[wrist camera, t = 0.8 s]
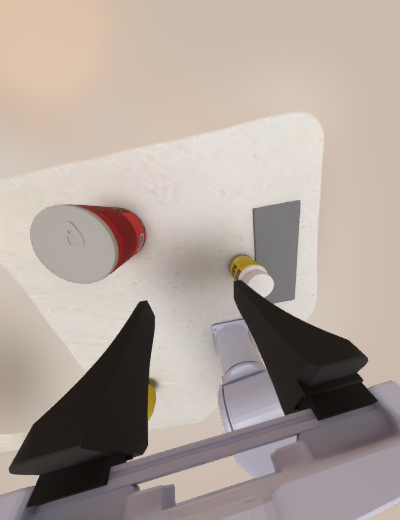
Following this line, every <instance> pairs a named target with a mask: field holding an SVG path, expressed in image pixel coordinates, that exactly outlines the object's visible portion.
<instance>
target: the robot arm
mask: <svg viewBox="0 0 400 520" xmlns="http://www.w3.org/2000/svg"><path fill="white" fill-rule="evenodd" d="M234 300H235V302H236V305H237V307H238V310H239V311H240V313H241V315H242V317H243V319H242V320H236V321H231V322H226V323H221V324H216V325H213V326H212V328H213V333H214V339H215V344H216V350H217V355H218V356H220V358H221V363H222V368H223V373H224V376H222V380H223V385H220V387H219V390H218V404H219V409H220V414H221V418H222V422H223V425H224V428H225V431H226V433H225V434H222V435H218V436H215V437H211V438H208V439H205V440H201V441H198V442H194V443H191V444H187V445H184V446H181V447H177V448H174V449H171V450H167V451H164V452H160V453H157V454H154V455H151V456H147V457H143V458H140V459H137V460H133V461H130V462H126V461H127V460H131V459H133V457H136V456H140V455H143V453H144V452H145V450H146V448H147V446H148V386H149V367H150V358H151V351H152V344H153V337H154V330H155V315H154V313H153V311H152V309H151V307H150V305H149V303H148V301H147V300H146V301H141V302H139V303H138V305H137V306H136V308H135V309H134V311H133V313H132V314H131V316H130V317H129V319H128V320H127V322H126V323H125V325H124V327H123V328H122V329H121V331H120V332H119V334H118V335H117V336H116V338H115V339H114V341H113V342H112V343H111V345H110V346H109V347H108V349H107V350H106V351H105V352H104V353H103V355H102V356H101V357H100V358H99V359H98V361H97V362H96V363H95V364H94V365H93V366H92V367H91V368H90V369H89V371H88V372H87V373H86V374H85V375H84V376H83V377H82V378H81V379H80V380H79V381H78V382H77V383H76V384H75V385H74V386H73V387H72V388H71V389H70V391H68V392H67V394H65V395H64V396H63V397H62V398H61V399H60V400H59V401H58V402H57V403H56V404H55V405H54V406H53V407H52V408H51V409H50V410H48V411H47V412H46V413H45V414H44V415H43V416H42V417H41V418H40V419H39V420H38V421H37V422H35V423H34V424H33V426H32V428H31V429H30V431H29V433H28V435H27V437H26V438H25V440H24V442H23V444H22V446H21V447H20V449H19V451H18V453H17V455H16V457H15V458H14V460H13V462H12V464H11V465H10V467H9V472H10V473H11V474H18V475H40V476H39V479H38V481H37V483H36V485H35V486H32V487H27V488H23V489H19V490H16V491H12V492H9V493H6V494H3V495H0V520H366V519H368V518H370V517H371V516H373V515H375V514H377V513H379V512H381V511H383V510H385V509H387V508H389V507H390V506H392V505H394V504H396V503H398V502H400V386H399V385H398V384H397V383H395V382H394V381H388V382H385V383H381V384H378V385H374V386H371V387H369V388H366V387H365V386H364V385H363V384H362V382H363V379H362V378H361V377H360V375H359V374H358V373H357V372H358V371H359V370H360V369H361V368H362V367H364V366H365V365H366V364H367V362H368V358H367V357H366V356H365V355H364V354H363V353H362V352H361V351H360V350H359V349H358V348H357V347H356V346H354V345H353V344H352V343H351V342H350V341H349V340H347V339H344V338H342V337H339V336H337V335H334V334H332V333H329V332H326V331H324V330H322V329H319V328H317V327H315V326H313V325H311V324H308V323H306V322H304V321H302V320H300V319H298V318H296V317H294V316H292V315H291V314H289V313H287V312H285V311H284V310H282V309H280V308H279V307H277V306H275V305H274V304H272V303H271V302H269V301H268V300H267V299H265V298H264V297H262V296H261V295H260V294H258V293H257V292H256V291H254V290H253V289H252V288H251V287H249V286H248V285H247V284H246V283H245V282H243V281H242V280H236V281H234ZM248 328H249V330H250V332H251V334H252V336H253V338H254V340H255V342H256V344H257V347H258V349H259V351H260V354H261V356H262V358H263V361H264V363H265V366H266V369H267V371H268V372H267V371H266V369H265V366H264V364H263V362H261V360H260V358H259V356H258V354H257V352H256V350H255V348H254V346H253V344H252V342H251V340H250V337H249V331H248ZM232 455H234V457H235V458H236V462H237V464H238V465H240V467H242V468H243V469H244V470H245V471H246V472H248V473H249V474H250V475H251V476H253V477H254V479H251V480H248V481H245V482H242V483H239V484H236V485H233V486H230V487H226V488H223V489H220V490H217V491H214V492H211V493H208V494H205V495H202V496H198V497H195V498H192V499H189V500H186V501H183V502H180V503H177V504H176V503H175V487H174V485H173V484H172V485H167V486H161V485H160V486H156V487H153V488H149V489H145V490H142V491H140V488H139V486H138V485H137V484H140V483H144V482H147V481H150V480H153V479H157V478H160V477H163V476H166V475H170V474H173V473H176V472H179V471H182V470H186V469H189V468H192V467H196V466H199V465H202V464H206V463H209V462H212V461H215V460H219V459H222V458H225V457H228V456H232Z"/></svg>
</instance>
